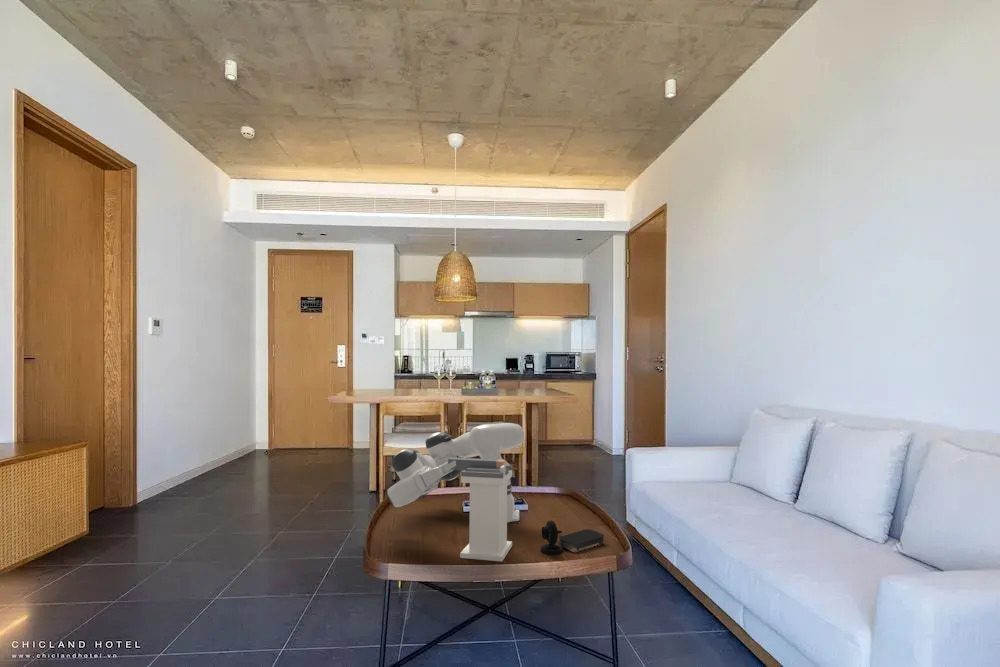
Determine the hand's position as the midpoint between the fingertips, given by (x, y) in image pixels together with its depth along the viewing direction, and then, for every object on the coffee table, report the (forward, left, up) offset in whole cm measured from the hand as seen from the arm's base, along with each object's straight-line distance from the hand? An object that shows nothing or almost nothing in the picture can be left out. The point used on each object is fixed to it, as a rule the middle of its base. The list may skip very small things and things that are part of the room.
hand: (459, 460), depth 185 cm
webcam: (-2, +32, -29) cm, 44 cm away
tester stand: (+4, +11, -29) cm, 31 cm away
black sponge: (-10, +42, -30) cm, 52 cm away
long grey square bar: (0, +6, -3) cm, 7 cm away
